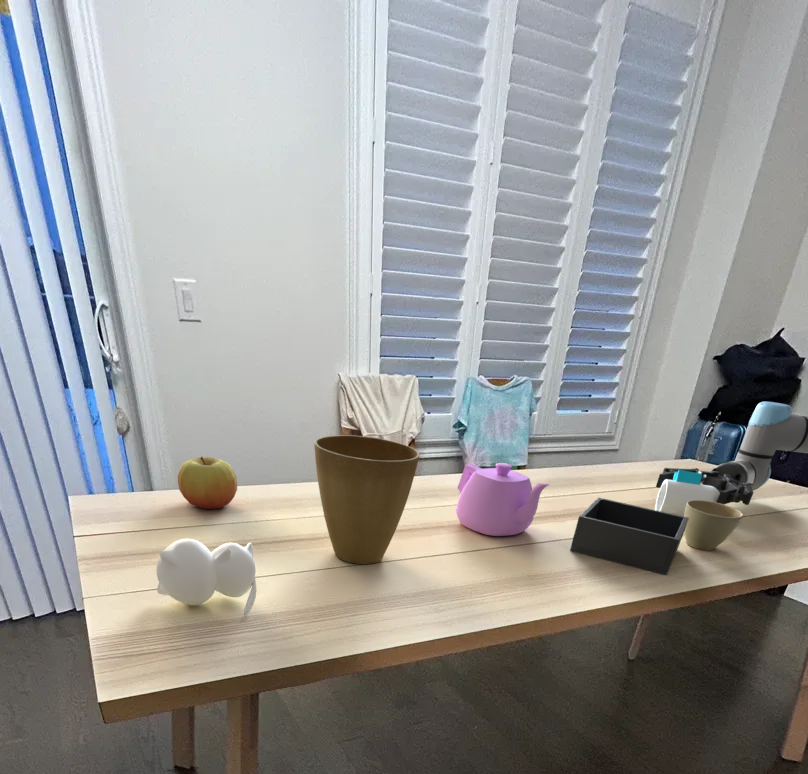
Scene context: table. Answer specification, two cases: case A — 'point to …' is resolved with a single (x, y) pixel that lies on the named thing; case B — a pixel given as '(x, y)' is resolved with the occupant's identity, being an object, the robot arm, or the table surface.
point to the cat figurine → (206, 572)
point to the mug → (683, 492)
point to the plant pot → (363, 492)
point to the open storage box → (629, 535)
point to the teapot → (496, 500)
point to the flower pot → (709, 523)
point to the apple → (207, 482)
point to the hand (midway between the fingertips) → (688, 489)
